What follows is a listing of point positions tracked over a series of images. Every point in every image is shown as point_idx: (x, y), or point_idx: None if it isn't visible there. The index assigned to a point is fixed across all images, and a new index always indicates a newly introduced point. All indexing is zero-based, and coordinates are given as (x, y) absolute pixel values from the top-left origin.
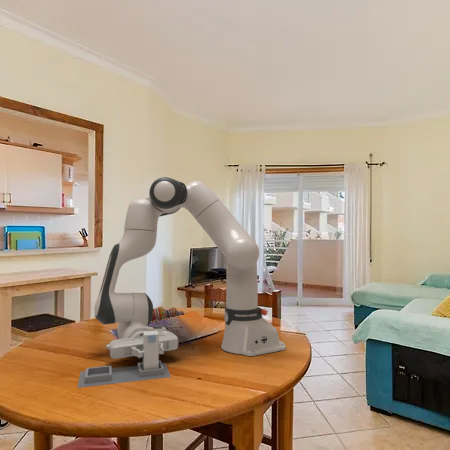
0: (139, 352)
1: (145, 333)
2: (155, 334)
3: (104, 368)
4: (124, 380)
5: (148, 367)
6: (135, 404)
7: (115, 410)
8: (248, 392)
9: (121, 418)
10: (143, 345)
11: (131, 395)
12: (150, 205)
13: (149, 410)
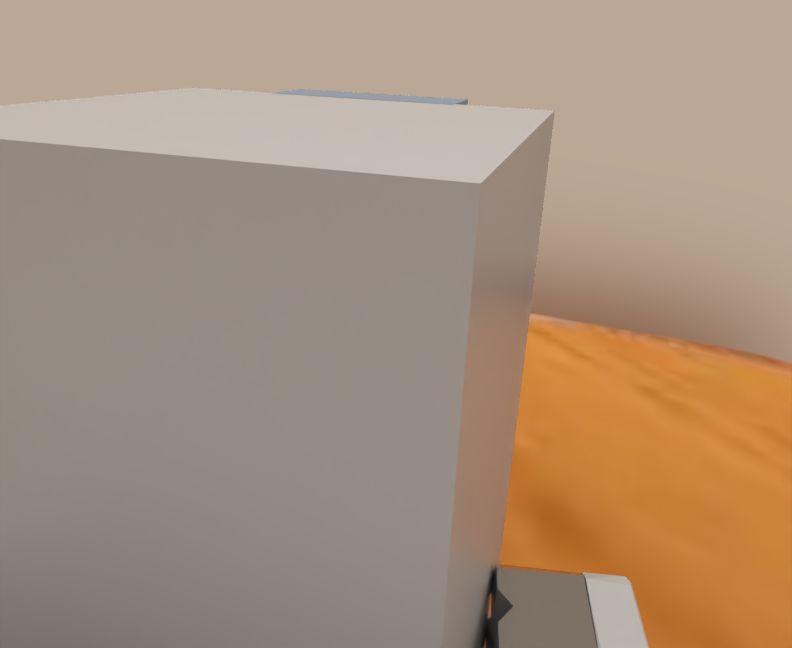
0: (606, 578)
1: (478, 122)
2: (271, 93)
3: None
4: None
5: None
6: (646, 423)
7: (778, 424)
8: None
9: (726, 371)
10: (480, 561)
11: (675, 513)
12: None
13: (571, 365)
